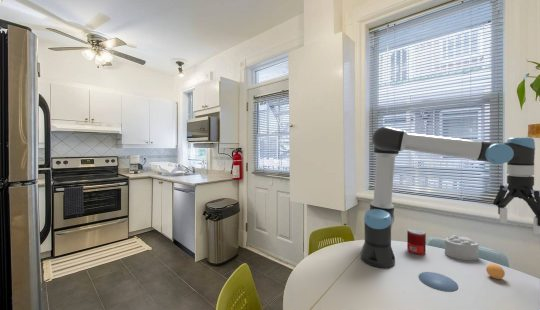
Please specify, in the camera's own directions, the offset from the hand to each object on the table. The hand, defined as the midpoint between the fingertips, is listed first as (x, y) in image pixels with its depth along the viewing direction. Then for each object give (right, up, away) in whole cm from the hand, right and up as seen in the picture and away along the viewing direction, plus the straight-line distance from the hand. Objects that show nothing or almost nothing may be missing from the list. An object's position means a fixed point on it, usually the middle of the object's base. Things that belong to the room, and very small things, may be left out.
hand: (519, 227), depth 95 cm
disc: (-34, -22, -1) cm, 40 cm away
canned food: (-27, -20, +25) cm, 42 cm away
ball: (-9, -18, +1) cm, 20 cm away
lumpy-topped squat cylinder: (-8, -20, +20) cm, 30 cm away
